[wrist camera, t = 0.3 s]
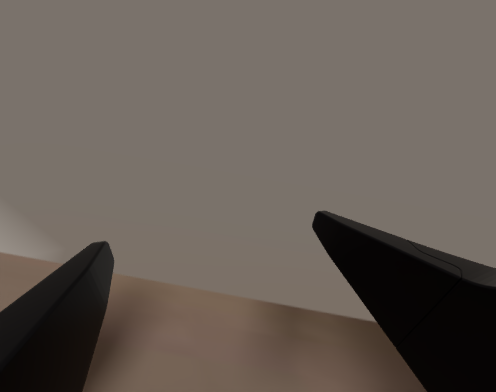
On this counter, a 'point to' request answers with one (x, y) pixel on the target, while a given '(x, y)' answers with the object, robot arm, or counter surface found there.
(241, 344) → the counter surface
